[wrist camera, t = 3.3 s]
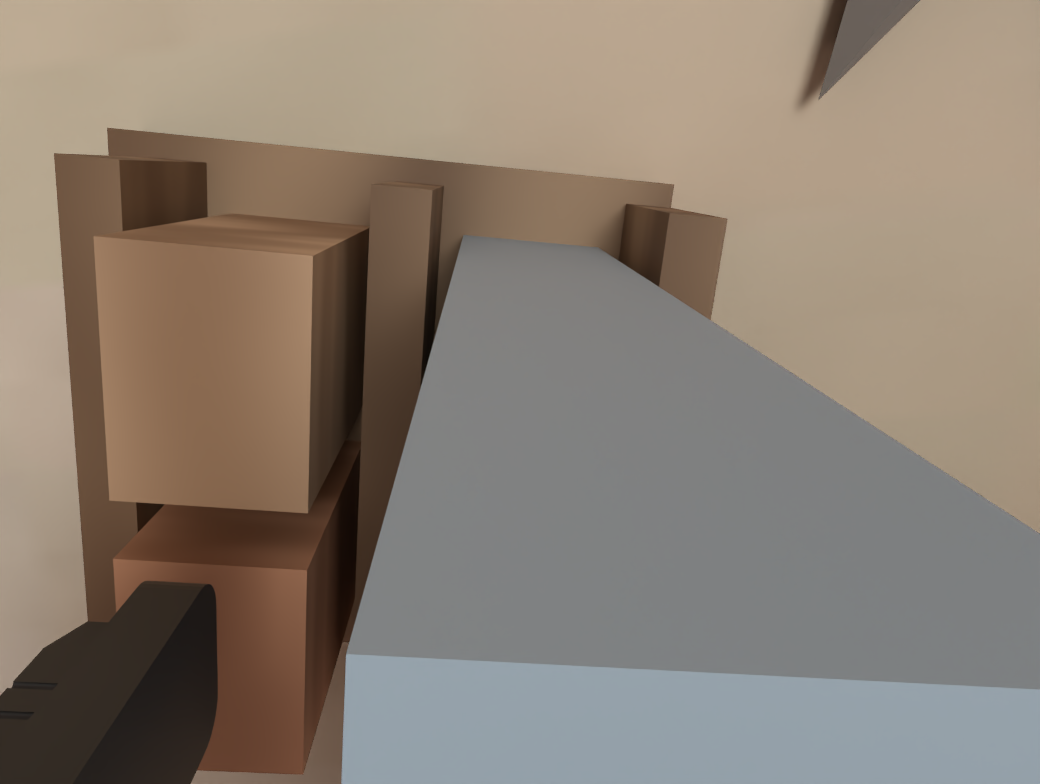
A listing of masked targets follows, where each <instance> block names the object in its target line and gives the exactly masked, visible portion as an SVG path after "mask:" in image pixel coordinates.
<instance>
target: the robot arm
mask: <svg viewBox="0 0 1040 784" xmlns="http://www.w3.org/2000/svg"><path fill="white" fill-rule="evenodd" d="M13 682H14V683H13V687H12V688H7V689H6V690H5V691H4V692H3V693H2V695H1V696H0V784H191V781H192V779H193V777H194V775H195V773H196V771H197V769H198V767H199V764H200V762H201V760H202V758H203V756H204V754H205V752H206V749H207V747H208V744H209V741H210V738H211V734H212V730H213V726H214V722H215V716H216V710H217V701H218V668H217V609H216V595H215V591H214V588H213V586H212V585H211V584H200V583H182V582H165V581H144V582H142V583H141V584H140V585H139V586H138V587H137V588H136V589H135V591H134V592H133V593H132V594H131V595H130V597H129V598H128V599H127V600H126V601H125V603H124V604H123V605H122V606H121V608H120V609H119V610H118V611H117V612H116V614H115V615H114V616H113V617H112V619H111V620H110V621H109V622H91V621H88V622H86V623H85V624H83V625H81V626H80V627H78V628H76V629H75V630H73V631H71V632H70V633H68V634H66V635H65V636H63V637H61V638H60V639H58V640H56V641H55V642H53V643H51V644H50V645H48V646H46V647H45V648H44V649H43V650H42V651H41V652H40V653H39V654H38V655H37V656H36V657H35V658H34V659H33V661H32V662H31V663H30V664H29V665H28V666H27V667H26V668H25V669H24V670H23V672H22V673H21V674H20V675H19V676H18V677H17V678H16V679H15V680H14V681H13Z"/></svg>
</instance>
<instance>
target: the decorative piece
mask: <svg viewBox="0 0 1040 784" xmlns="http://www.w3.org/2000/svg"><path fill="white" fill-rule="evenodd" d="M919 1H920V0H847V4H846V7H845V11H844V14H843V18H842V21H841V24H840V28H839V31H838V35H837V38H836V42H835V45H834V48H833V52H832V55H831V59H830V62H829V66H828V69H827V72H826V76H825V79H824V83H823V86H822V90H821V93H820V96H819V99H820V98H821V97H822V96H823V95H824V94H825V93H826V92H827V91H828V90H829V89H830V88H831V87H832V86H833V85H834V84H835V83H836V82H837V81H838V80H840V79H841V78H842V77H843V76H844V75H845V74H846V73H847V72H848V71H849V70H850V69H851V68H852V67H853V66H854V65H855V64H856V63H857V62H858V61H859V60H860V59H861V58H862V57H863V56H864V55H865V54H866V53H867V52H868V51H869V50H870V49H871V48H872V47H873V46H874V45H875V44H876V43H877V42H878V41H879V40H880V39H881V38H882V37H883V36H884V35H885V34H886V33H887V32H888V31H889V30H890V29H891V28H892V27H893V26H894V25H896V24H897V23H898V22H899V21H900V20H901V19H902V18H903V17H904V16H905V15H906V14H907V13H908V12H909V11H910V10H911V9H912V8H913V7H914V6H915V5H916V4H917V3H918V2H919Z"/></svg>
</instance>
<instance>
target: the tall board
mask: <svg viewBox="0 0 1040 784" xmlns="http://www.w3.org/2000/svg"><path fill="white" fill-rule="evenodd" d="M341 784H1040V534H1039V533H1038V532H1036V531H1035V530H1033V529H1032V528H1030V527H1029V526H1027V525H1025V524H1024V523H1022V522H1021V521H1019V520H1018V519H1016V518H1015V517H1013V516H1012V515H1010V514H1009V513H1007V512H1005V511H1004V510H1002V509H1001V508H999V507H998V506H996V505H995V504H993V503H992V502H990V501H988V500H987V499H985V498H984V497H982V496H981V495H979V494H978V493H976V492H975V491H973V490H971V489H970V488H968V487H967V486H965V485H964V484H962V483H961V482H959V481H958V480H956V479H955V478H953V477H951V476H950V475H948V474H947V473H945V472H944V471H942V470H941V469H939V468H938V467H936V466H934V465H933V464H931V463H930V462H928V461H927V460H925V459H924V458H922V457H921V456H919V455H917V454H916V453H914V452H913V451H911V450H910V449H908V448H907V447H905V446H904V445H902V444H901V443H899V442H897V441H896V440H894V439H893V438H891V437H890V436H888V435H887V434H885V433H884V432H882V431H880V430H879V429H877V428H876V427H874V426H873V425H871V424H870V423H868V422H867V421H865V420H863V419H862V418H860V417H859V416H857V415H856V414H854V413H853V412H851V411H850V410H848V409H847V408H845V407H843V406H842V405H840V404H839V403H837V402H836V401H834V400H833V399H831V398H830V397H828V396H826V395H825V394H823V393H822V392H820V391H819V390H817V389H816V388H814V387H813V386H811V385H809V384H808V383H806V382H805V381H803V380H802V379H800V378H799V377H797V376H796V375H794V374H793V373H791V372H789V371H788V370H786V369H785V368H783V367H782V366H780V365H779V364H777V363H776V362H774V361H772V360H771V359H769V358H768V357H766V356H765V355H763V354H762V353H760V352H759V351H757V350H755V349H754V348H752V347H751V346H749V345H748V344H746V343H745V342H743V341H742V340H740V339H739V338H737V337H735V336H734V335H732V334H731V333H729V332H728V331H726V330H725V329H723V328H722V327H720V326H718V325H717V324H715V323H714V322H712V321H711V320H709V319H708V318H706V317H705V316H703V315H701V314H700V313H698V312H697V311H695V310H694V309H692V308H691V307H689V306H688V305H686V304H685V303H683V302H681V301H680V300H678V299H677V298H675V297H674V296H672V295H671V294H669V293H668V292H666V291H664V290H663V289H661V288H660V287H658V286H657V285H655V284H654V283H652V282H651V281H649V280H648V279H646V278H644V277H643V276H641V275H640V274H638V273H637V272H635V271H634V270H632V269H631V268H629V267H627V266H626V265H624V264H623V263H621V262H620V261H618V260H617V259H615V258H614V257H612V256H610V255H609V254H607V253H606V252H604V251H603V250H601V249H600V248H598V247H588V246H577V245H567V244H556V243H545V242H534V241H524V240H513V239H502V238H491V237H481V236H470V235H463V239H462V242H461V246H460V250H459V253H458V257H457V260H456V264H455V267H454V271H453V274H452V278H451V282H450V285H449V289H448V292H447V296H446V299H445V303H444V307H443V310H442V314H441V317H440V321H439V324H438V328H437V332H436V335H435V339H434V342H433V346H432V349H431V353H430V357H429V360H428V364H427V367H426V371H425V374H424V378H423V381H422V385H421V389H420V392H419V396H418V399H417V403H416V406H415V410H414V414H413V417H412V421H411V424H410V428H409V431H408V435H407V439H406V442H405V446H404V449H403V453H402V456H401V460H400V464H399V467H398V471H397V474H396V478H395V481H394V485H393V488H392V492H391V496H390V499H389V503H388V506H387V510H386V513H385V517H384V521H383V524H382V528H381V531H380V535H379V538H378V542H377V546H376V549H375V553H374V556H373V560H372V563H371V567H370V570H369V574H368V578H367V581H366V585H365V588H364V592H363V595H362V599H361V603H360V606H359V610H358V613H357V617H356V620H355V624H354V628H353V631H352V635H351V638H350V642H349V645H348V649H347V653H346V670H345V697H344V725H343V752H342V779H341Z"/></svg>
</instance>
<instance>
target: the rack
mask: <svg viewBox="0 0 1040 784" xmlns="http://www.w3.org/2000/svg"><path fill="white" fill-rule="evenodd" d="M107 132H108V151H109V156H103V155H80V154H56V153H54V159H55V172H56V186H57V200H58V214H59V228H60V241H61V255H62V269H63V283H64V296H65V310H66V324H67V338H68V352H69V365H70V379H71V393H72V407H73V421H74V434H75V448H76V462H77V476H78V489H79V503H80V517H81V531H82V545H83V558H84V572H85V586H86V600H87V614H88V621H91V622H109V621H110V620H111V619H112V617H113V616H114V615H115V614H116V600H115V584H114V567H113V558H114V557H115V556H116V555H117V554H118V553H119V552H120V551H121V550H122V549H123V548H124V547H125V546H126V545H127V544H128V543H129V542H130V541H131V539H132V538H133V537H134V536H135V535H136V534H137V533H138V532H139V531H140V530H141V529H142V528H143V527H144V526H145V525H146V524H147V523H148V522H149V521H150V519H151V518H152V517H153V516H154V515H155V514H156V513H157V512H158V511H159V510H160V509H161V508H162V507H163V506H164V505H165V504H155V503H140V502H124V501H109V485H108V468H107V451H106V435H105V418H104V402H103V385H102V369H101V352H100V336H99V319H98V303H97V286H96V270H95V253H94V236H98V235H104V234H110V233H116V232H122V231H128V230H134V229H140V228H146V227H152V226H158V225H164V224H170V223H176V222H182V221H188V220H194V219H200V218H206V217H212V216H218V215H224V214H230V213H234V214H244V215H255V216H266V217H276V218H287V219H298V220H309V221H319V222H330V223H341V224H352V225H362V226H370V227H369V253H368V278H367V304H366V329H365V355H364V380H363V406H362V408H361V410H360V412H359V414H358V416H357V418H356V420H355V422H354V424H353V426H352V428H351V430H350V432H349V434H348V436H347V437H346V439H345V440H351V441H361V457H360V482H359V507H358V533H357V558H356V584H355V600H354V604H353V607H352V611H351V614H350V617H349V621H348V624H347V627H346V631H345V634H344V638H343V641H342V642H350V638H351V635H352V631H353V628H354V624H355V620H356V617H357V613H358V610H359V606H360V603H361V599H362V595H363V592H364V588H365V585H366V581H367V578H368V574H369V570H370V567H371V563H372V560H373V556H374V553H375V549H376V546H377V542H378V538H379V535H380V531H381V528H382V524H383V521H384V517H385V513H386V510H387V506H388V503H389V499H390V496H391V492H392V488H393V485H394V481H395V478H396V474H397V471H398V467H399V464H400V460H401V456H402V453H403V449H404V446H405V442H406V439H407V435H408V431H409V428H410V424H411V421H412V417H413V414H414V410H415V406H416V403H417V399H418V396H419V392H420V389H421V385H422V381H423V378H424V374H425V371H426V367H427V364H428V360H429V357H430V353H431V349H432V346H433V342H434V339H435V335H436V332H437V328H438V324H439V321H440V317H441V314H442V310H443V307H444V303H445V299H446V296H447V292H448V289H449V285H450V282H451V278H452V274H453V271H454V267H455V264H456V260H457V257H458V253H459V250H460V246H461V242H462V239H463V235H470V236H481V237H491V238H502V239H513V240H524V241H534V242H545V243H556V244H567V245H577V246H588V247H598V248H600V249H601V250H603V251H604V252H606V253H607V254H609V255H610V256H612V257H614V258H615V259H617V260H618V261H620V262H621V263H623V264H624V265H626V266H627V267H629V268H631V269H632V270H634V271H635V272H637V273H638V274H640V275H641V276H643V277H644V278H646V279H648V280H649V281H651V282H652V283H654V284H655V285H657V286H658V287H660V288H661V289H663V290H664V291H666V292H668V293H669V294H671V295H672V296H674V297H675V298H677V299H678V300H680V301H681V302H683V303H685V304H686V305H688V306H689V307H691V308H692V309H694V310H695V311H697V312H698V313H700V314H701V315H703V316H705V317H706V318H708V319H709V320H711V314H712V308H713V302H714V296H715V290H716V284H717V278H718V272H719V266H720V260H721V254H722V248H723V242H724V236H725V230H726V224H727V219H726V218H720V217H715V216H710V215H705V214H700V213H694V212H689V211H684V210H679V209H673V208H671V202H672V195H673V188H674V185H673V184H663V183H653V182H643V181H633V180H623V179H613V178H603V177H593V176H583V175H573V174H563V173H553V172H543V171H533V170H523V169H513V168H503V167H493V166H483V165H473V164H463V163H453V162H443V161H433V160H423V159H413V158H403V157H393V156H383V155H373V154H363V153H353V152H343V151H333V150H323V149H313V148H303V147H293V146H283V145H273V144H263V143H253V142H243V141H233V140H223V139H213V138H204V137H194V136H184V135H174V134H164V133H154V132H144V131H134V130H124V129H114V128H107Z"/></svg>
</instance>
